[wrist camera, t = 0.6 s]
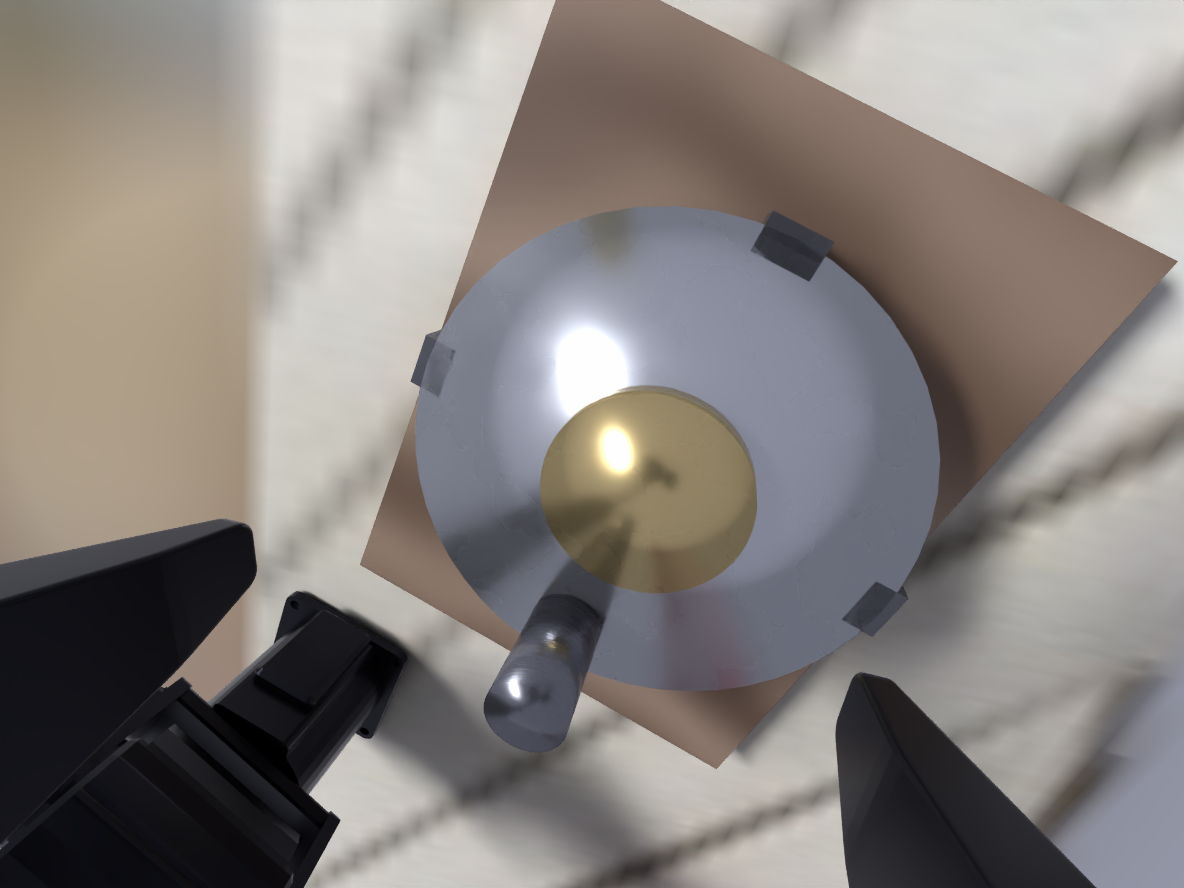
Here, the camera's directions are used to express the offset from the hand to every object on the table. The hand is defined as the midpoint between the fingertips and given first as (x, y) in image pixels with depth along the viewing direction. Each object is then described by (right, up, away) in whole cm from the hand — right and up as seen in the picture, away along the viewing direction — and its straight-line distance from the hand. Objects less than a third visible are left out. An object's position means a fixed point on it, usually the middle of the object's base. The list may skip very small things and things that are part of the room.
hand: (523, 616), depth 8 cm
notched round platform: (+3, +2, +11) cm, 11 cm away
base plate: (+4, +3, +12) cm, 13 cm away
